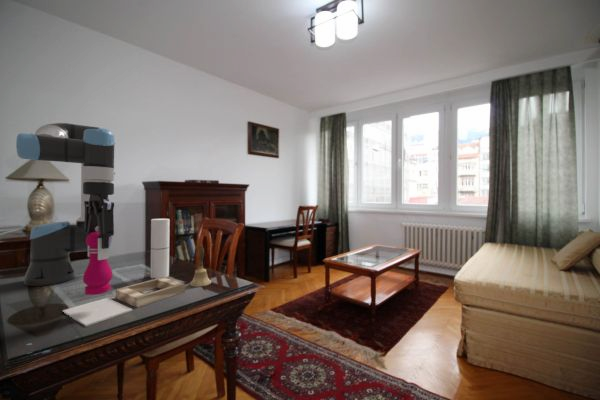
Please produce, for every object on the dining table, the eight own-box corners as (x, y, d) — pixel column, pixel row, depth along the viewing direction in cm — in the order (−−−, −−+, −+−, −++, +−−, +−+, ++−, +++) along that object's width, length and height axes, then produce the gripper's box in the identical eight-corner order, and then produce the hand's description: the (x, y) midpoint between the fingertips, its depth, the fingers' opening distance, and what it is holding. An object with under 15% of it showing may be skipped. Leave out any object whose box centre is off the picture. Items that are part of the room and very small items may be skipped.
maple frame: (115, 297, 92) (115, 289, 92) (162, 284, 107) (162, 276, 107) (137, 307, 85) (137, 298, 85) (184, 291, 100) (184, 283, 100)
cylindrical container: (150, 279, 113) (150, 220, 112) (150, 274, 119) (151, 218, 118) (169, 277, 116) (169, 219, 115) (168, 272, 122) (169, 218, 122)
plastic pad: (62, 312, 81) (62, 310, 81) (107, 299, 91) (107, 297, 91) (85, 326, 73) (85, 324, 73) (132, 310, 83) (132, 309, 83)
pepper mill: (96, 296, 78) (97, 228, 77) (76, 294, 79) (76, 226, 79) (118, 288, 85) (118, 225, 84) (99, 286, 86) (99, 224, 86)
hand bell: (187, 287, 105) (188, 246, 104) (191, 280, 113) (192, 242, 112) (210, 286, 106) (210, 246, 106) (212, 279, 114) (213, 242, 114)
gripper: (128, 182, 79) (127, 259, 80) (98, 182, 89) (98, 251, 90) (99, 180, 73) (98, 265, 74) (70, 181, 83) (70, 255, 83)
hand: (98, 257), depth 82 cm, fingers closed on pepper mill, 6 cm apart
